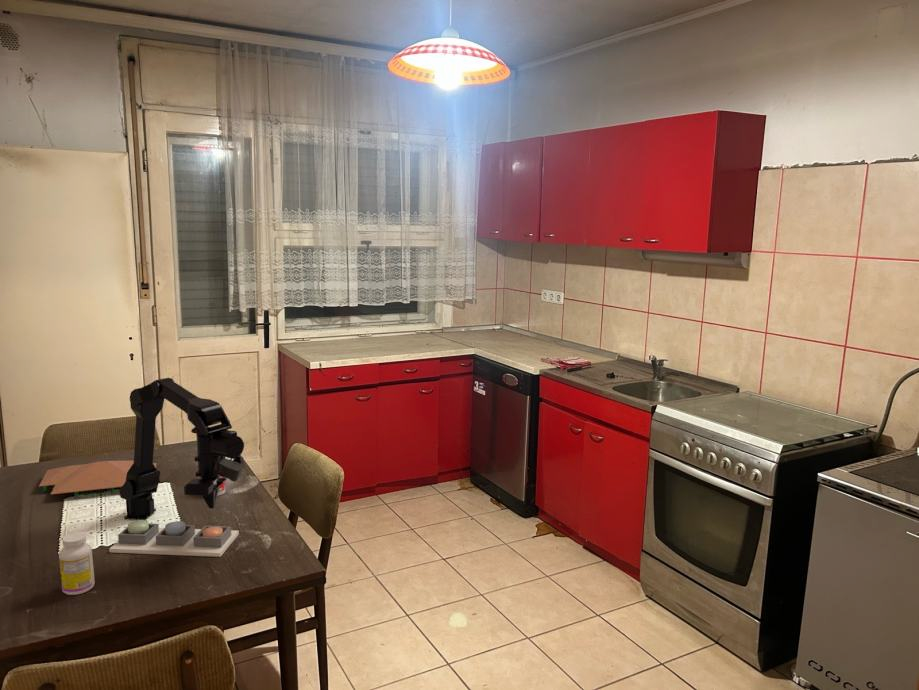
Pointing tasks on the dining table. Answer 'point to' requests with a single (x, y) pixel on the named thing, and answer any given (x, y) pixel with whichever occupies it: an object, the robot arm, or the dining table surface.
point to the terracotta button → (212, 532)
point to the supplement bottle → (76, 564)
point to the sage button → (138, 527)
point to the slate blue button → (175, 528)
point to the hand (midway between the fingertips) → (211, 507)
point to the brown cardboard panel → (87, 477)
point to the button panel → (174, 542)
